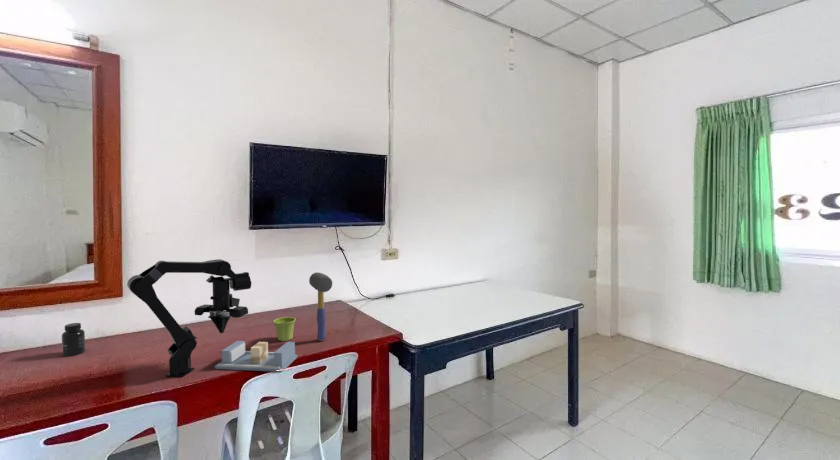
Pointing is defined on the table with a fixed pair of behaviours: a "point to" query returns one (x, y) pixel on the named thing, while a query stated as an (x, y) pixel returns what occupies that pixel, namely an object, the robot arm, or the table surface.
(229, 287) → the robot arm
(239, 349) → the block
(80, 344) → the supplement bottle
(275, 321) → the plant pot
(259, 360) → the block
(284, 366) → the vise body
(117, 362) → the table surface
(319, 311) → the rubber mallet
